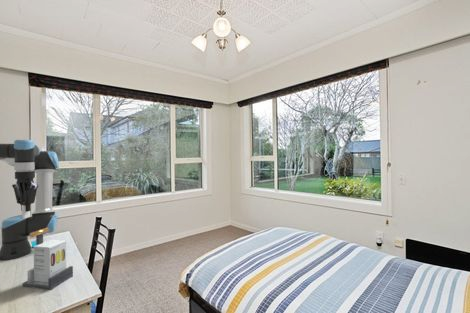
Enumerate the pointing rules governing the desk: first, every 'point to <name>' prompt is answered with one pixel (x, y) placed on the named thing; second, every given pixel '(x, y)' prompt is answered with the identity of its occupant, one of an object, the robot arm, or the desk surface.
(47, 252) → the supplement box
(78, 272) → the desk surface
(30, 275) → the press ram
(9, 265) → the desk surface
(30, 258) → the desk surface
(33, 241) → the tablet
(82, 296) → the desk surface
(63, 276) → the press bed
